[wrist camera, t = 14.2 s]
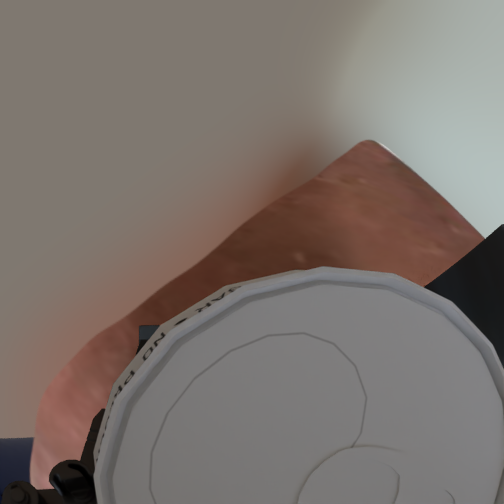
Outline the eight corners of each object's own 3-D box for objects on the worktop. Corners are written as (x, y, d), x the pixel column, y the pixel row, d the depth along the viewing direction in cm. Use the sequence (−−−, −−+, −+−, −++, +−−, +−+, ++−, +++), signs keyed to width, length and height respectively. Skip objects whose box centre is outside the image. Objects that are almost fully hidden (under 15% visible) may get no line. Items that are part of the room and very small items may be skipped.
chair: (168, 499, 20) (89, 615, 4) (157, 343, 26) (61, 236, 10) (396, 466, 22) (560, 487, 6) (377, 325, 28) (517, 224, 12)
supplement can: (156, 442, 16) (-16, 507, 2) (238, 335, 19) (272, 153, 6) (273, 515, 14) (372, 680, 1) (349, 406, 17) (566, 366, 4)
